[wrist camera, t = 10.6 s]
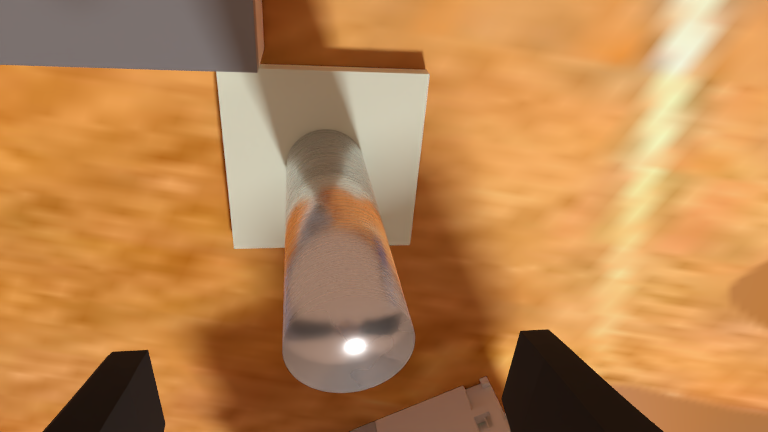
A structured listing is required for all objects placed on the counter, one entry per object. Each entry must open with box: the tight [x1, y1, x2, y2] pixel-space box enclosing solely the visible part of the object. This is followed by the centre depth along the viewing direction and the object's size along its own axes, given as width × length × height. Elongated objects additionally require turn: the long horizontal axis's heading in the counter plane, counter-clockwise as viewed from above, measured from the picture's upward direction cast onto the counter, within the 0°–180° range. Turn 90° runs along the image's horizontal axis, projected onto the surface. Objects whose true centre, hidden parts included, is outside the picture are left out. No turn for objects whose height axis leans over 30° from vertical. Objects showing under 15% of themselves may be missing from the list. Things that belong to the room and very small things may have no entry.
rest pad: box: [216, 64, 430, 249], centre depth 18 cm, size 7×7×1 cm
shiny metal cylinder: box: [283, 129, 415, 393], centre depth 14 cm, size 3×3×9 cm
